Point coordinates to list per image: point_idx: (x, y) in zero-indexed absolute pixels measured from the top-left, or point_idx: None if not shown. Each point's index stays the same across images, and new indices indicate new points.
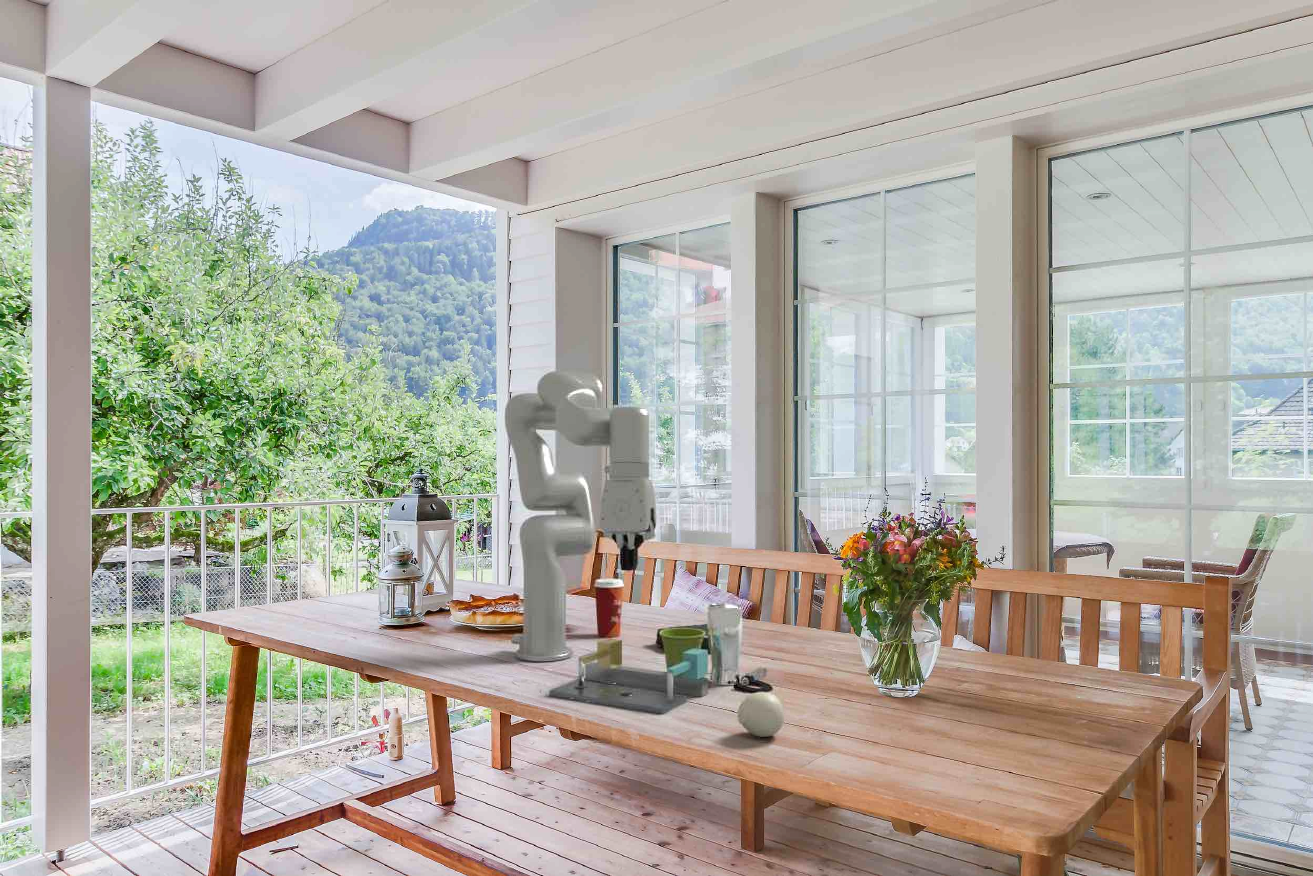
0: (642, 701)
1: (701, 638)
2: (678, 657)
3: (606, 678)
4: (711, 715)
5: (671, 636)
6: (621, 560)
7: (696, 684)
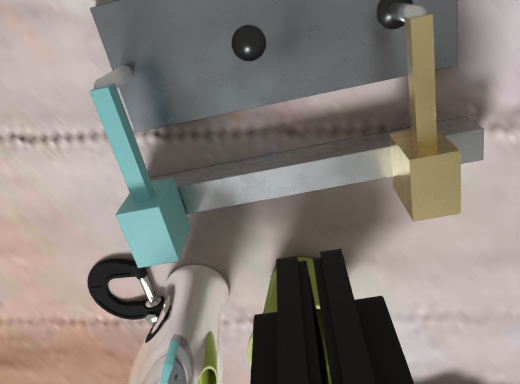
0: (171, 21)
1: None
2: None
3: None
4: (22, 81)
5: None
6: (347, 295)
7: None
